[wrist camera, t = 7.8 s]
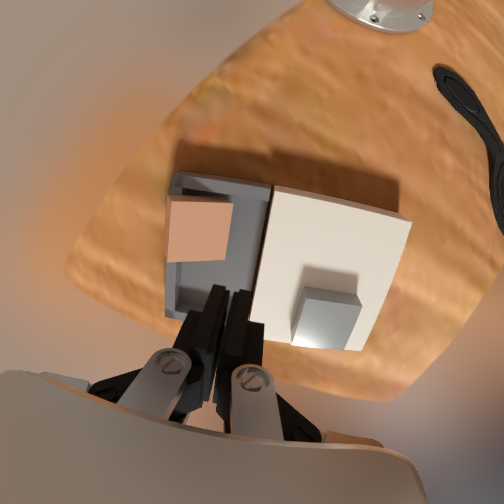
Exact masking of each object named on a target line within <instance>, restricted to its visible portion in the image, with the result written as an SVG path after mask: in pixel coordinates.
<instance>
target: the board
mask: <svg viewBox="0 0 504 504" xmlns="http://www.w3.org/2000/svg"><path fill="white" fill-rule="evenodd" d="M411 225H412V222H411V221H409V220H408V219H406V218H405V217H403V216H402V215H401V214H399V213H396V212H392V211H389V210H385V209H381V208H377V207H373V206H369V205H365V204H361V203H357V202H353V201H349V200H344V199H340V198H336V197H331V196H327V195H322V194H318V193H313V192H308V191H303V190H298V189H293V188H288V187H283V186H278V185H274V190H273V196H272V201H271V206H270V212H269V217H268V222H267V227H266V233H265V238H264V243H263V248H262V254H261V259H260V264H259V269H258V274H257V279H256V284H255V290H254V295H253V300H252V305H251V310H250V315H249V321H253V322H259V323H264V324H265V327H264V340H271V341H277V342H284V343H291V328H292V325H293V322H294V319H295V315H296V312H297V308H298V305H299V302H300V298H301V295H302V291H303V288H304V286H307V287H313V288H319V289H325V290H331V291H338V292H344V293H351V294H357V296H358V298H359V300H360V302H361V304H362V306H363V307H362V309H361V312H360V314H359V316H358V319H357V321H356V324H355V326H354V328H353V331H352V333H351V335H350V337H349V340H348V342H347V344H346V346H345V348H344V350H356V351H361V350H362V348H363V346H364V344H365V342H366V340H367V338H368V336H369V334H370V331H371V329H372V327H373V325H374V323H375V321H376V318H377V316H378V314H379V312H380V309H381V307H382V305H383V302H384V300H385V297H386V295H387V293H388V290H389V288H390V285H391V282H392V280H393V277H394V275H395V272H396V269H397V267H398V264H399V261H400V258H401V255H402V253H403V250H404V247H405V244H406V241H407V238H408V234H409V231H410V228H411Z"/></svg>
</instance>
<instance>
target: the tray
mask: <svg viewBox="0 0 504 504" xmlns="http://www.w3.org/2000/svg"><path fill="white" fill-rule="evenodd" d="M270 192H271V184H267V183H261V182H255V181H250V180H244V179H237V178H231V177H225V176H218V175H211V174H204V173H197V172H189V171H179V172H176V173H174V174H172V179H171V189H170V195H190V196H216V197H226V198H227V199H228V200H230V201H231V202H233V203H234V204H233V210H232V217H231V223H230V230H229V236H228V243H227V249H226V256H225V260H212V261H189V262H167V260H166V273H165V317H168V318H173V319H177V320H181V321H184V320H185V318H186V316H187V314H188V312H189V310H190V309H191V310H196V311H200V312H202V311H203V309H204V306H205V304H206V301H207V299H208V296H209V293H210V291H211V288H212V286H213V284H217V285H222V286H226V290H230V296H229V303H228V309H227V316H226V321H227V317H228V313H229V309H230V305H231V301H232V297H233V293H234V291H236V292H239V289H244V290H249V291H251V290H252V285H253V279H254V274H255V269H256V263H257V258H258V253H259V247H260V242H261V237H262V231H263V226H264V221H265V215H266V210H267V204H268V201H269V197H270ZM225 325H226V323H225Z"/></svg>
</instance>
